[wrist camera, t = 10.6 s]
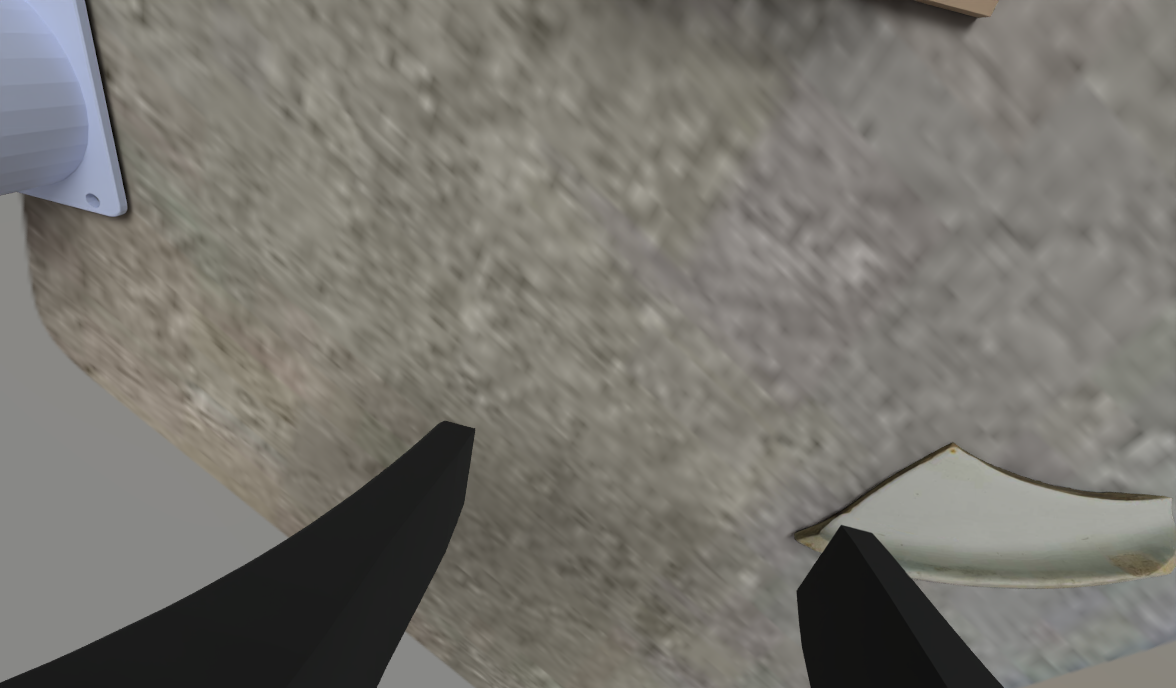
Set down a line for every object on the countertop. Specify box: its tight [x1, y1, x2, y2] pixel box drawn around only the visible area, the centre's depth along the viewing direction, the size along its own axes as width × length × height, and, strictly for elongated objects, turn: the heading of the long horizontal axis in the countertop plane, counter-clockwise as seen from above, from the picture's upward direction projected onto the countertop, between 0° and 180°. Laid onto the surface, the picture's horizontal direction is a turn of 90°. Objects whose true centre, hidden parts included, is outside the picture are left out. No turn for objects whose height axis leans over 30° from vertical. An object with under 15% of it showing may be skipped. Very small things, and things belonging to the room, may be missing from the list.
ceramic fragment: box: [794, 442, 1176, 589], centre depth 21 cm, size 14×5×4 cm, turn 98°
